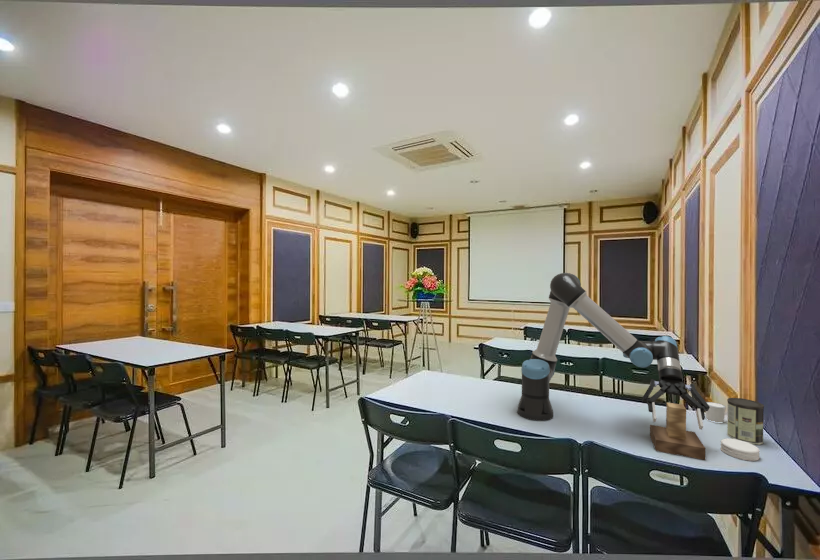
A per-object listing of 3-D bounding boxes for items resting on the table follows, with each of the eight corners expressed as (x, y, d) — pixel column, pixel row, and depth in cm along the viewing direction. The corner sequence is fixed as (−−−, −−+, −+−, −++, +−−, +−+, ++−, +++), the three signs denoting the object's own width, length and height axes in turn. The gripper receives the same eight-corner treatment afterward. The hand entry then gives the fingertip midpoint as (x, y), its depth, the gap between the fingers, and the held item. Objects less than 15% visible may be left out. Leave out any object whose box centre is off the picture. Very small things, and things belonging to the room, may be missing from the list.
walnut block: (655, 450, 127) (655, 439, 127) (649, 434, 140) (650, 424, 140) (705, 460, 121) (705, 448, 121) (694, 442, 133) (694, 432, 133)
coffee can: (750, 433, 141) (751, 398, 141) (770, 446, 131) (771, 408, 131) (720, 431, 143) (720, 396, 143) (738, 443, 133) (739, 406, 133)
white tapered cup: (703, 420, 153) (704, 404, 153) (705, 416, 158) (705, 400, 158) (725, 425, 149) (725, 408, 148) (725, 420, 154) (726, 404, 154)
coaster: (713, 449, 129) (713, 439, 129) (734, 446, 131) (734, 436, 131) (744, 463, 119) (745, 453, 119) (767, 460, 122) (767, 449, 122)
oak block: (668, 437, 129) (669, 406, 129) (666, 431, 134) (666, 402, 134) (685, 439, 127) (686, 409, 127) (682, 434, 131) (683, 404, 131)
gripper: (707, 381, 138) (719, 435, 125) (632, 373, 149) (635, 421, 136) (712, 371, 133) (724, 426, 120) (633, 363, 144) (637, 412, 131)
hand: (677, 424), depth 128 cm, fingers open, 13 cm apart
